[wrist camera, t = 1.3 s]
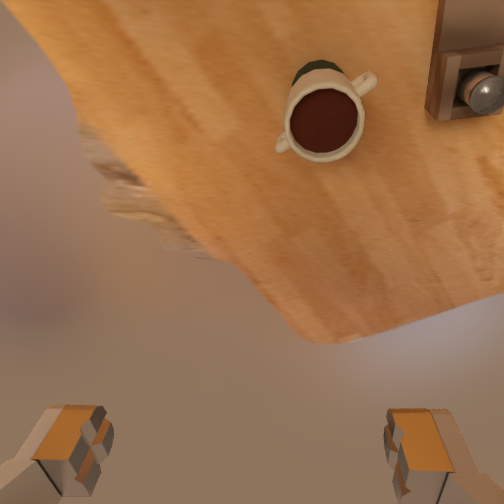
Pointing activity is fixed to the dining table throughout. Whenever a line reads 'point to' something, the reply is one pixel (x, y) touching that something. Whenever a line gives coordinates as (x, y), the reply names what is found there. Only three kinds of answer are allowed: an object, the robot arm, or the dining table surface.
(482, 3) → the wooden desk organizer
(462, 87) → the leg peg
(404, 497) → the robot arm
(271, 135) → the dining table surface
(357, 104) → the character mug
